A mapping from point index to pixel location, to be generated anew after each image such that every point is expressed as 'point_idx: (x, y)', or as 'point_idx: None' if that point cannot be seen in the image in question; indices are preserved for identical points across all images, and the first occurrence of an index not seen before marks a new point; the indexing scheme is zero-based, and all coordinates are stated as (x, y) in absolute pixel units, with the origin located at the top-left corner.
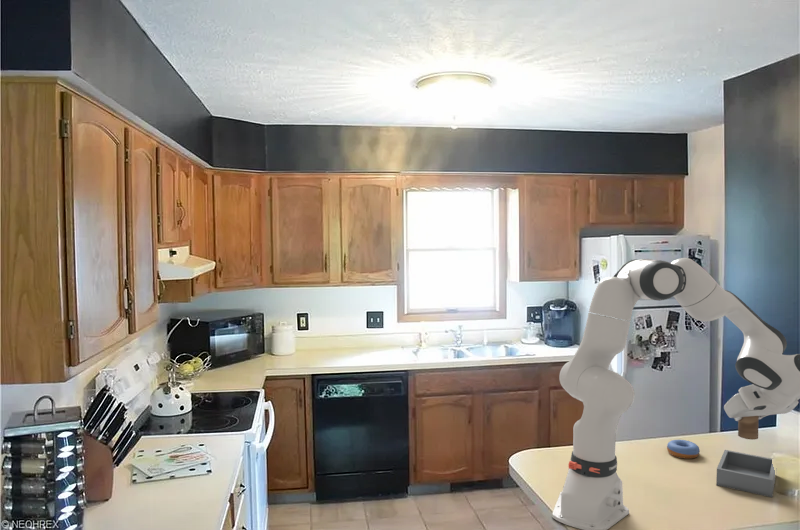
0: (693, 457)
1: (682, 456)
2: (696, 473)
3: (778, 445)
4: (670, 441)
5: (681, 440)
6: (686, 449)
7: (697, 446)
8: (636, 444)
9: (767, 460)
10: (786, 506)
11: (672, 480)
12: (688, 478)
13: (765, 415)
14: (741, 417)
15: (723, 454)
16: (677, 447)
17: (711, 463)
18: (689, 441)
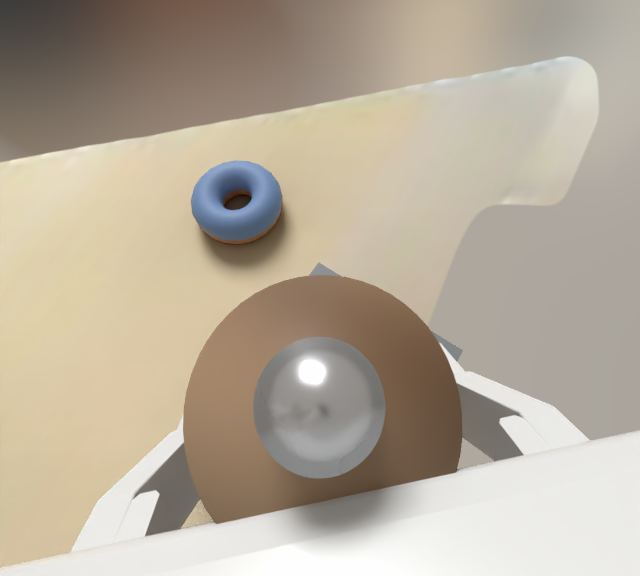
0: (249, 241)
1: (216, 239)
2: (197, 346)
3: (541, 154)
4: (206, 174)
5: (242, 168)
6: (221, 228)
7: (268, 207)
8: (150, 154)
9: None
10: None
11: (86, 402)
12: (148, 385)
13: (483, 451)
14: (182, 523)
15: None
16: (200, 215)
17: (286, 273)
18: (262, 175)
